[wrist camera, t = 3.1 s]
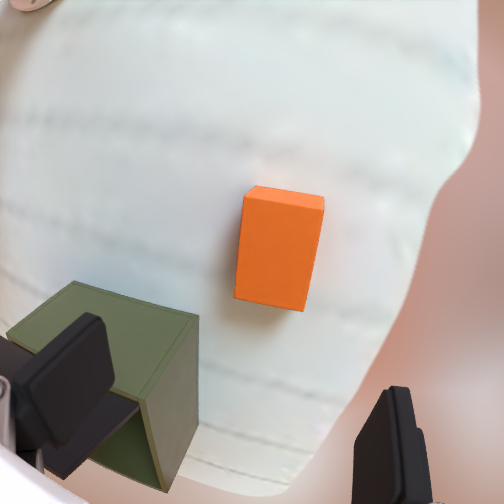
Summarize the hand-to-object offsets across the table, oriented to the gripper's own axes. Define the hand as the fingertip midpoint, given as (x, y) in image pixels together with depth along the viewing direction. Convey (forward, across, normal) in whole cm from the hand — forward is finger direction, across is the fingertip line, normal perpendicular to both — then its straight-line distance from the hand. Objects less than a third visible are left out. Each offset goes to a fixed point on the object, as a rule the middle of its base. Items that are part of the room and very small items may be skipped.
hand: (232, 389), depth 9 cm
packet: (+13, 0, 0) cm, 13 cm away
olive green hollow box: (+13, +12, +14) cm, 23 cm away
